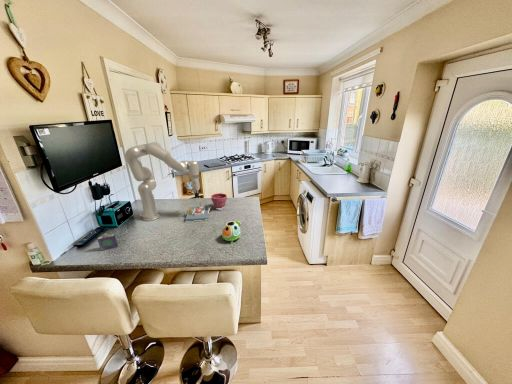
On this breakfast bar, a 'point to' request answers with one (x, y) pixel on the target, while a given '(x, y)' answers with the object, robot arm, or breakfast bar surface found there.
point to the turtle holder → (231, 231)
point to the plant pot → (219, 200)
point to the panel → (198, 214)
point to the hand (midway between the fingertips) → (197, 197)
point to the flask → (107, 242)
